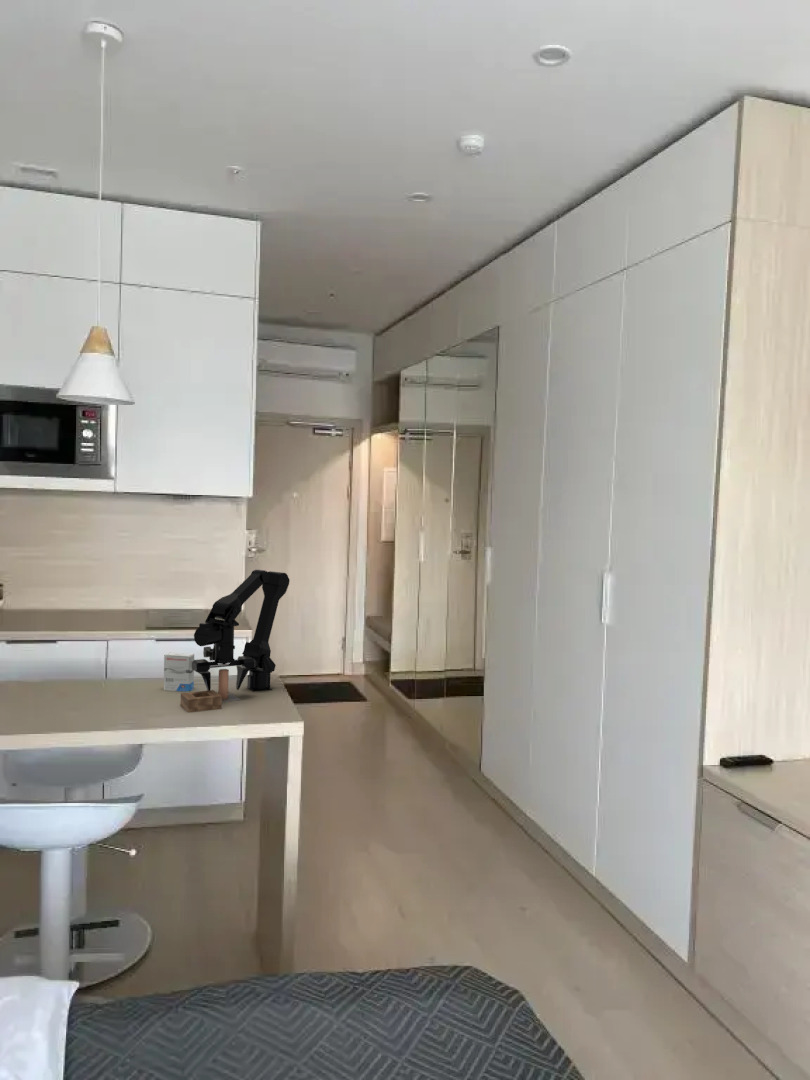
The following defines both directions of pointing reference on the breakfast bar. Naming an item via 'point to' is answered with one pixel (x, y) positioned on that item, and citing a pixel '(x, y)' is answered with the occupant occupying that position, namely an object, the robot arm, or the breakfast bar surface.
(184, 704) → the hole block
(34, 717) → the breakfast bar surface
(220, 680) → the peg
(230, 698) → the mat
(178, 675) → the ink box
